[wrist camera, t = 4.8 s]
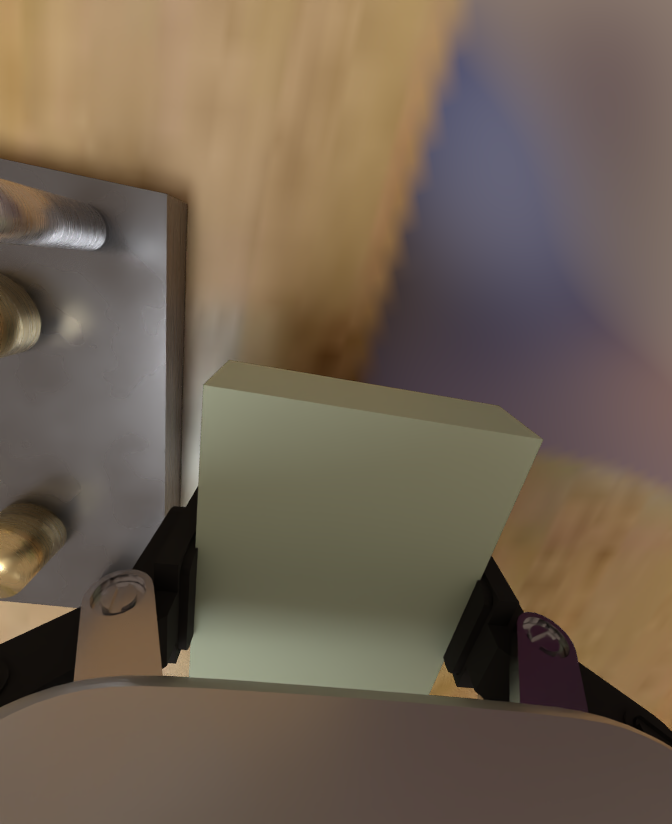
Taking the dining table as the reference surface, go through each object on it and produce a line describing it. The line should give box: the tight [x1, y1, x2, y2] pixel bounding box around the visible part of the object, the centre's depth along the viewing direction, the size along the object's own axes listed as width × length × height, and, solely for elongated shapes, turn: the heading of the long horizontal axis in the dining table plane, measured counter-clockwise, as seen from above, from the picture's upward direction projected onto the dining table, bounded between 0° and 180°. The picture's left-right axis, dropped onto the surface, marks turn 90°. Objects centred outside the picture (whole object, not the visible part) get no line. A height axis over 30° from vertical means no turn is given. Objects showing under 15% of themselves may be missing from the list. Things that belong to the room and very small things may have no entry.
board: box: [189, 360, 543, 695], centre depth 10 cm, size 7×11×2 cm, turn 169°
